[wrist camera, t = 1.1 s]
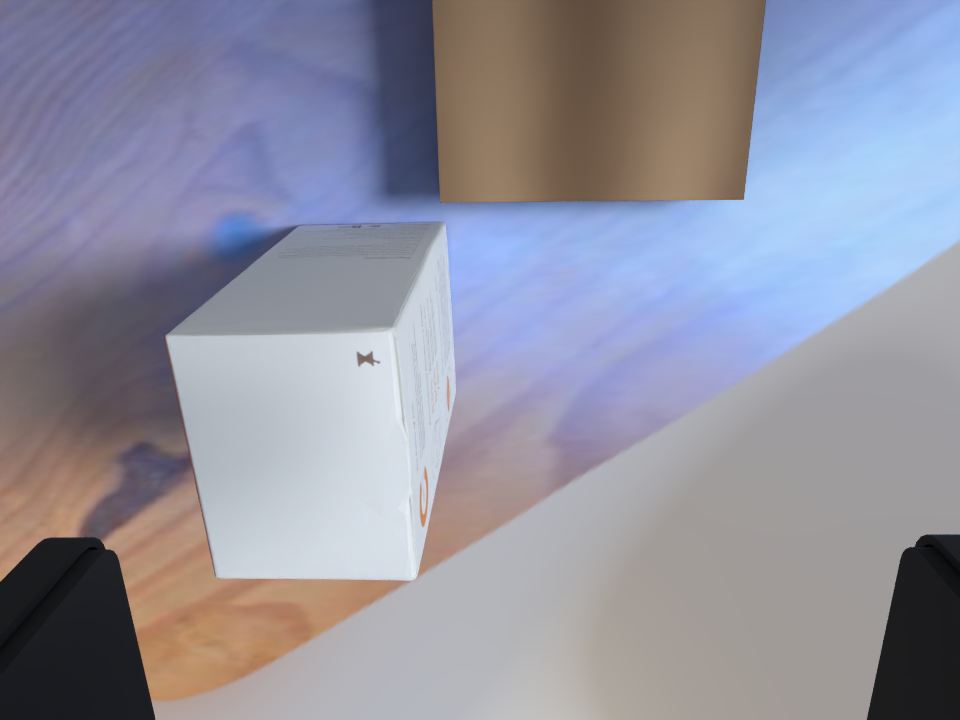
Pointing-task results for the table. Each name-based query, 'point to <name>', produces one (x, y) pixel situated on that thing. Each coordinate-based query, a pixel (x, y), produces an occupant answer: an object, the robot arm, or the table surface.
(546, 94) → the plinth
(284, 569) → the small box
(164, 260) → the table surface
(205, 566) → the table surface
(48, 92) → the table surface
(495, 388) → the table surface
